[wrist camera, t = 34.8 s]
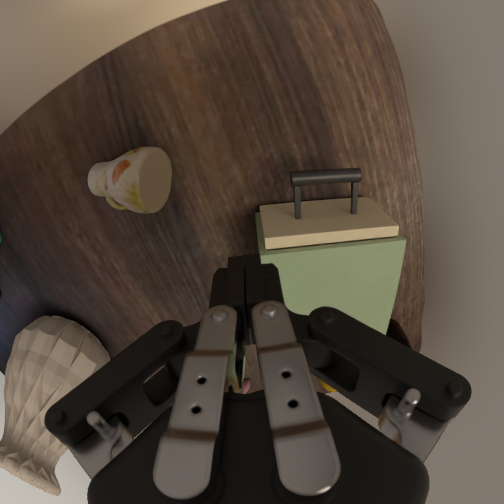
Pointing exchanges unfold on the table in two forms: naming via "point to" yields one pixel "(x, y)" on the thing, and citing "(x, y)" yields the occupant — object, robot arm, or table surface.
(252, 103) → the table surface
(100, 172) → the mug
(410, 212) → the table surface
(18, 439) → the vase
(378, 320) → the cabinet
